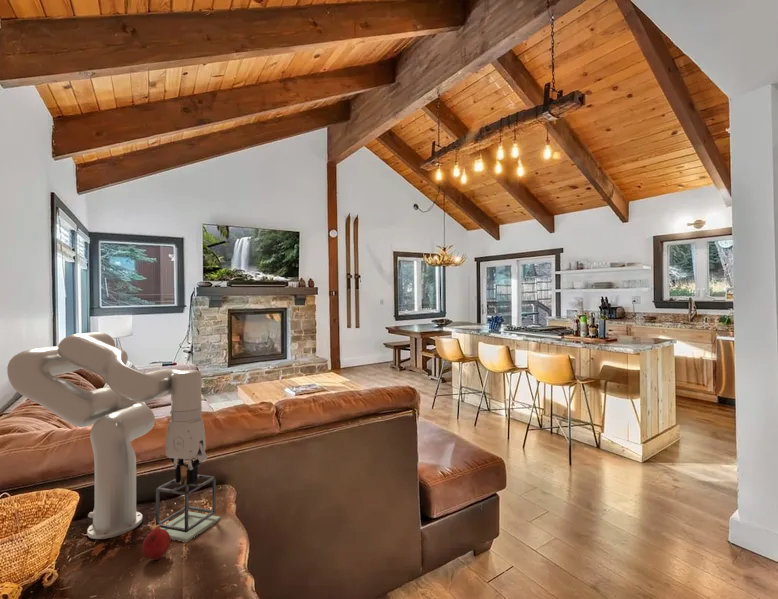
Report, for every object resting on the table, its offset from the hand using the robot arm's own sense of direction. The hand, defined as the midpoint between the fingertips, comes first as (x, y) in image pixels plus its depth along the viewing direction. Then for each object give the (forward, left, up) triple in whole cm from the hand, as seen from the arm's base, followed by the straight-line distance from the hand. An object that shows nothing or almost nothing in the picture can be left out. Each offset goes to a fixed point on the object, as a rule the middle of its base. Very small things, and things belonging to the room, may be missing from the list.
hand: (186, 481), depth 108 cm
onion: (+5, -13, -13) cm, 19 cm away
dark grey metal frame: (0, 0, -10) cm, 10 cm away
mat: (0, 0, -13) cm, 13 cm away
